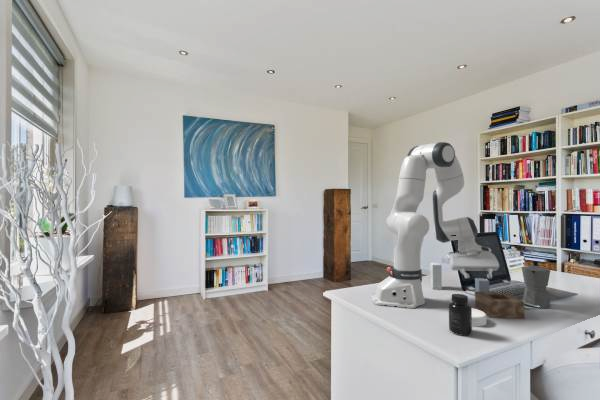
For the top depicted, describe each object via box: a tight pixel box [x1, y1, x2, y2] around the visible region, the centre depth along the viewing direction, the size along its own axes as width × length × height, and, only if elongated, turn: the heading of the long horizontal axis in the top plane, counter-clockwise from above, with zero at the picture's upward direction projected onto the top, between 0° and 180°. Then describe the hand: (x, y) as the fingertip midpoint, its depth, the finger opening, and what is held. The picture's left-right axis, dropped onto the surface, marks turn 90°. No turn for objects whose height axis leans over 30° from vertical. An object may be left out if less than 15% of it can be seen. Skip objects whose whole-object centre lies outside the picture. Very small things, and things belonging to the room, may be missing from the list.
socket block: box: [474, 291, 526, 319], centre depth 118 cm, size 12×12×6 cm
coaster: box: [471, 307, 488, 327], centre depth 110 cm, size 10×10×4 cm
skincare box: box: [429, 262, 443, 290], centre depth 152 cm, size 6×4×12 cm
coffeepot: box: [521, 260, 552, 310], centre depth 126 cm, size 15×9×18 cm, turn 136°
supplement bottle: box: [448, 293, 473, 336], centre depth 101 cm, size 7×7×12 cm
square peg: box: [474, 277, 490, 293], centre depth 132 cm, size 4×4×9 cm
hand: (478, 277), depth 135 cm, fingers open, 8 cm apart
